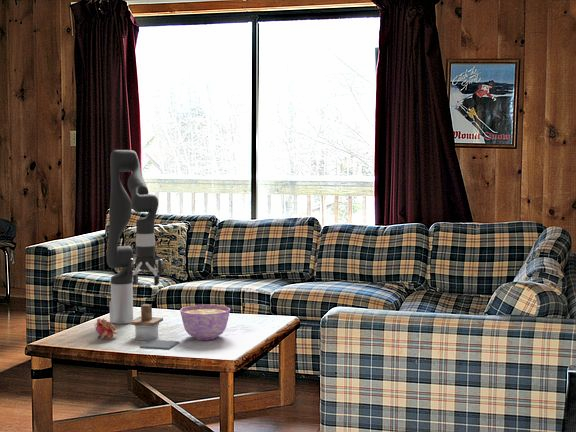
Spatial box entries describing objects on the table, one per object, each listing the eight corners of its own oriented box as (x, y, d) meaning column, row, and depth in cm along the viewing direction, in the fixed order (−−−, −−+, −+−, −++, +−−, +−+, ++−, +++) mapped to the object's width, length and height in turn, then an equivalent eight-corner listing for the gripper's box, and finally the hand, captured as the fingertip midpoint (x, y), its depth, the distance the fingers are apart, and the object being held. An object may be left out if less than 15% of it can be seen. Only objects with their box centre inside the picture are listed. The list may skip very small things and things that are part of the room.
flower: (92, 338, 328) (104, 321, 328) (86, 328, 335) (98, 312, 336) (111, 348, 333) (123, 332, 333) (105, 339, 340) (117, 323, 341)
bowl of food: (174, 334, 341) (174, 306, 340) (221, 330, 349) (220, 303, 348) (188, 345, 322) (188, 316, 321) (237, 340, 330) (237, 311, 329)
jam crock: (130, 339, 332) (130, 324, 332) (140, 334, 342) (140, 319, 341) (153, 340, 330) (153, 325, 330) (162, 335, 340) (162, 320, 339)
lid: (129, 324, 332) (129, 306, 331) (140, 319, 341) (139, 302, 341) (153, 325, 329) (153, 307, 329) (163, 320, 339) (162, 303, 338)
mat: (139, 347, 319) (139, 346, 319) (150, 341, 330) (150, 339, 330) (169, 349, 316) (169, 347, 316) (179, 342, 327) (179, 341, 327)
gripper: (125, 245, 331) (125, 285, 332) (158, 246, 328) (159, 287, 329) (132, 243, 338) (133, 282, 339) (165, 244, 335) (166, 284, 336)
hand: (146, 284), depth 334 cm, fingers open, 8 cm apart
